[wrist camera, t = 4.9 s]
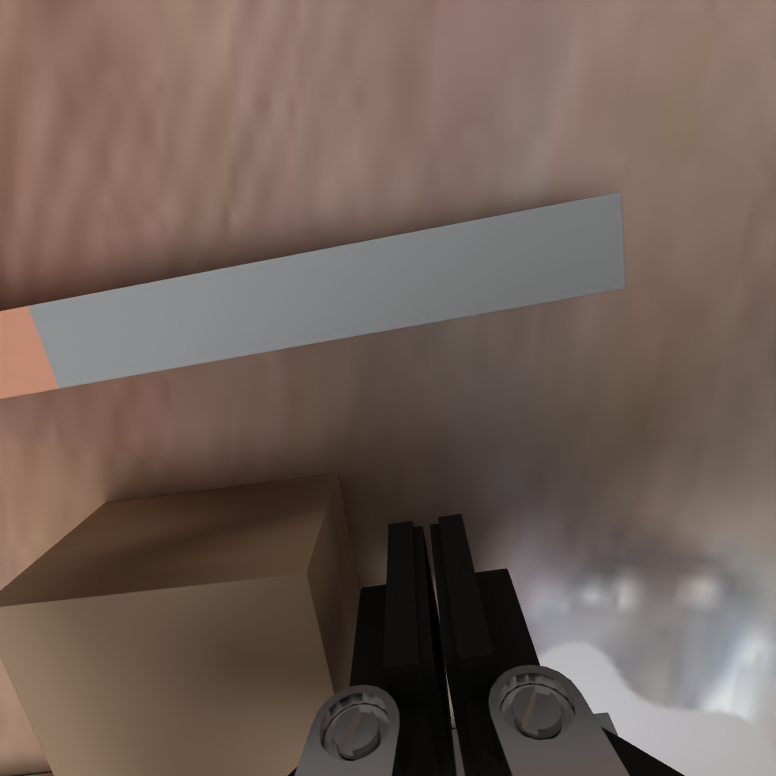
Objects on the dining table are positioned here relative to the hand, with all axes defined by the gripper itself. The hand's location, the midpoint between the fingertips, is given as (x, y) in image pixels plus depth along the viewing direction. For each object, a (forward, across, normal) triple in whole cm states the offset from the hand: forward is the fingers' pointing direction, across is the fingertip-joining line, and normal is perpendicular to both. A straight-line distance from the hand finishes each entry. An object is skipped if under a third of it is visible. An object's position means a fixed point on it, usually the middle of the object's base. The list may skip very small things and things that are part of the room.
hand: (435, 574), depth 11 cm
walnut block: (+2, +5, +1) cm, 5 cm away
